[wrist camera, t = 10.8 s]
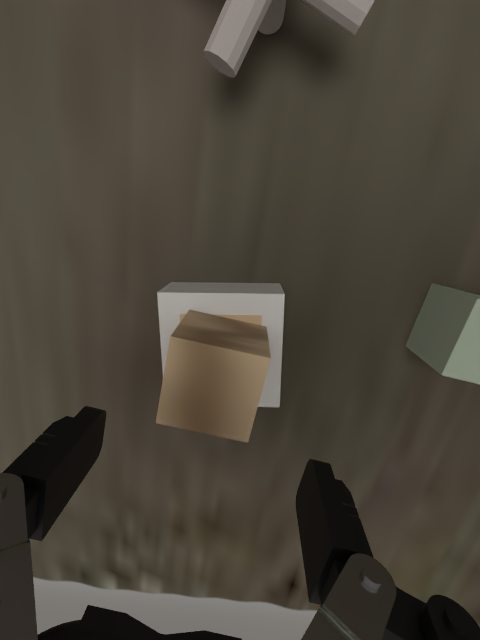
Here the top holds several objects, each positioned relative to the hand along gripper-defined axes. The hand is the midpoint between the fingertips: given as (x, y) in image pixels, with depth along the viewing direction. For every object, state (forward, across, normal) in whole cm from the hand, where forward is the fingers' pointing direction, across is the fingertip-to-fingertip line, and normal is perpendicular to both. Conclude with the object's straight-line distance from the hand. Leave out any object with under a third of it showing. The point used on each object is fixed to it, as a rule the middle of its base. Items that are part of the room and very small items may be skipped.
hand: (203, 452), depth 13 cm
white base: (+13, 0, 0) cm, 13 cm away
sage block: (+13, -16, -5) cm, 21 cm away
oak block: (+9, 0, 0) cm, 9 cm away
